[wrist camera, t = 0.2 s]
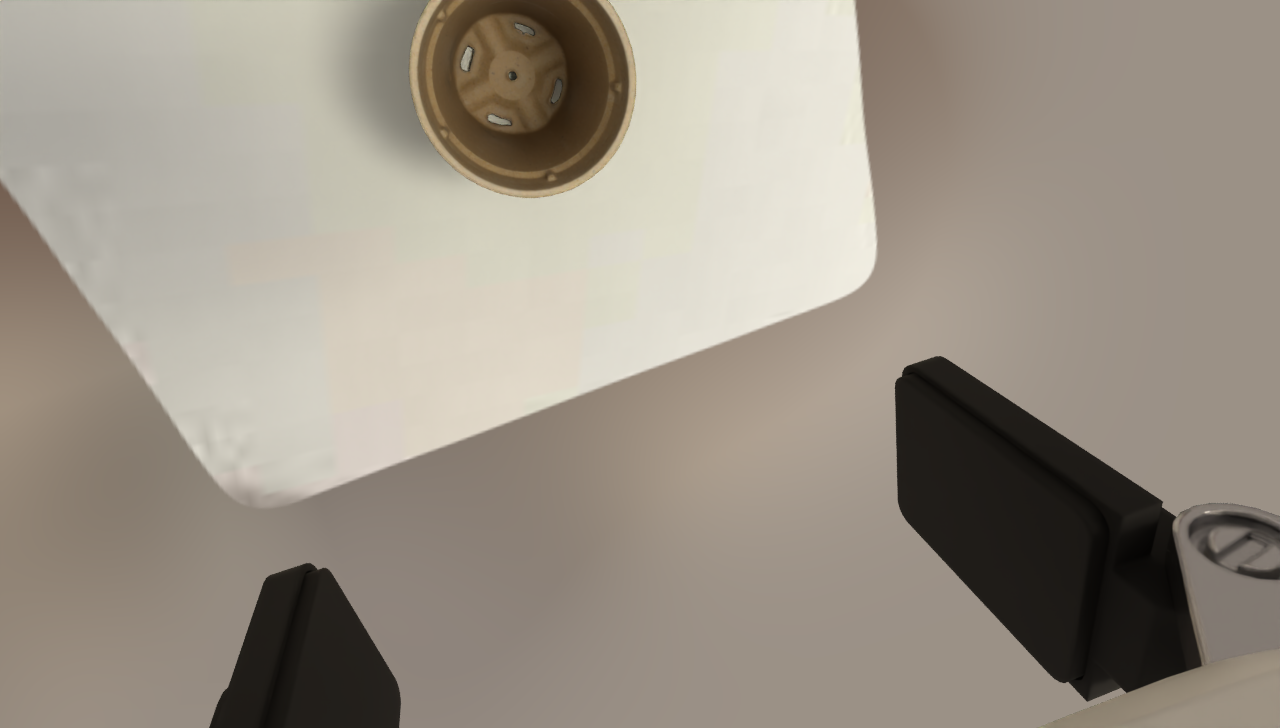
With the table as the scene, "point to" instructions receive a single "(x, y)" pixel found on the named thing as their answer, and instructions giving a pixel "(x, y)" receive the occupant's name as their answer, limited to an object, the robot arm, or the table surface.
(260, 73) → the table surface
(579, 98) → the flower pot
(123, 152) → the table surface
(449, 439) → the table surface
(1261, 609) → the robot arm
